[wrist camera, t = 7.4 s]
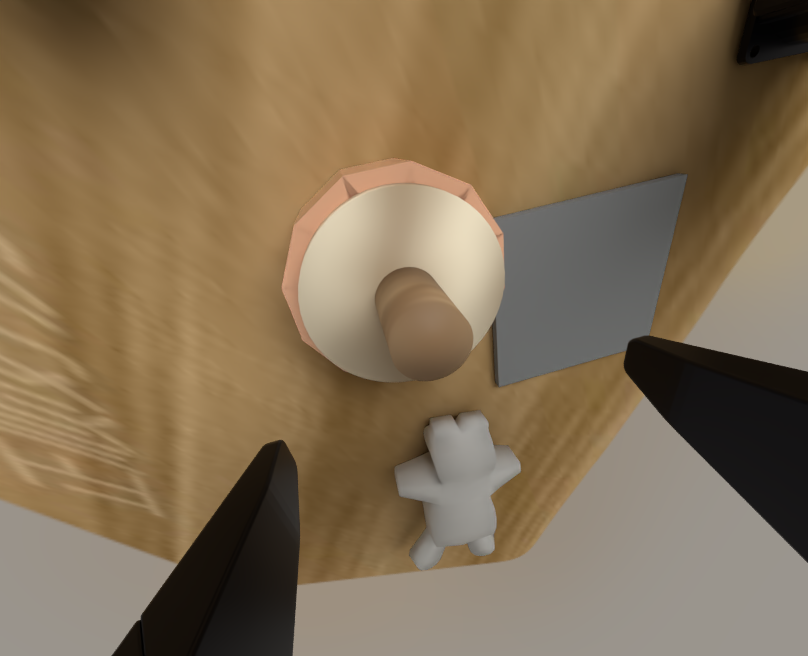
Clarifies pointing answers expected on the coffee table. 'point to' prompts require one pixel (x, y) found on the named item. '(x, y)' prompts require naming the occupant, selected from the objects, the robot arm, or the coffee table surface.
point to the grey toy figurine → (456, 485)
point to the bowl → (351, 184)
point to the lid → (401, 283)
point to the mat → (582, 276)
